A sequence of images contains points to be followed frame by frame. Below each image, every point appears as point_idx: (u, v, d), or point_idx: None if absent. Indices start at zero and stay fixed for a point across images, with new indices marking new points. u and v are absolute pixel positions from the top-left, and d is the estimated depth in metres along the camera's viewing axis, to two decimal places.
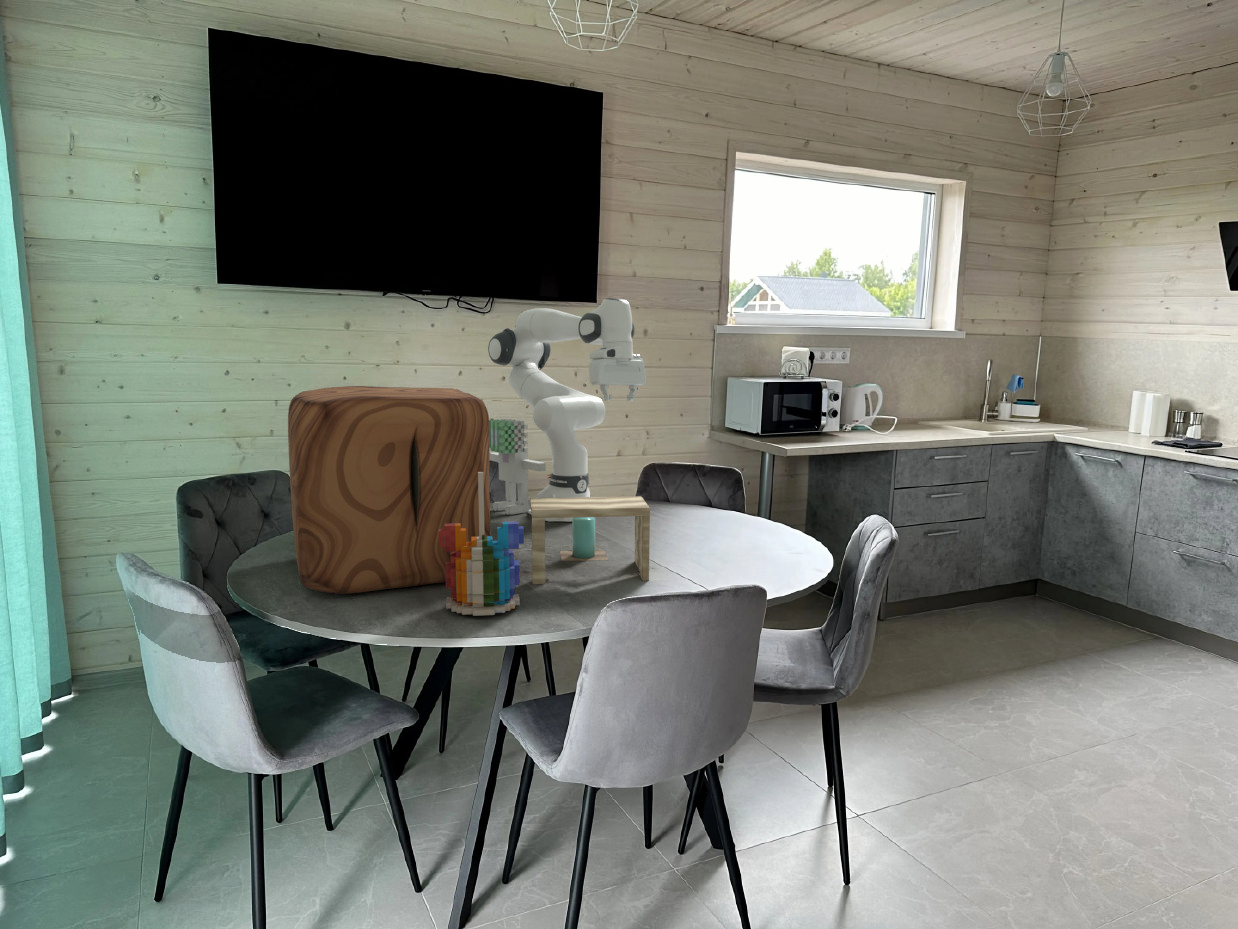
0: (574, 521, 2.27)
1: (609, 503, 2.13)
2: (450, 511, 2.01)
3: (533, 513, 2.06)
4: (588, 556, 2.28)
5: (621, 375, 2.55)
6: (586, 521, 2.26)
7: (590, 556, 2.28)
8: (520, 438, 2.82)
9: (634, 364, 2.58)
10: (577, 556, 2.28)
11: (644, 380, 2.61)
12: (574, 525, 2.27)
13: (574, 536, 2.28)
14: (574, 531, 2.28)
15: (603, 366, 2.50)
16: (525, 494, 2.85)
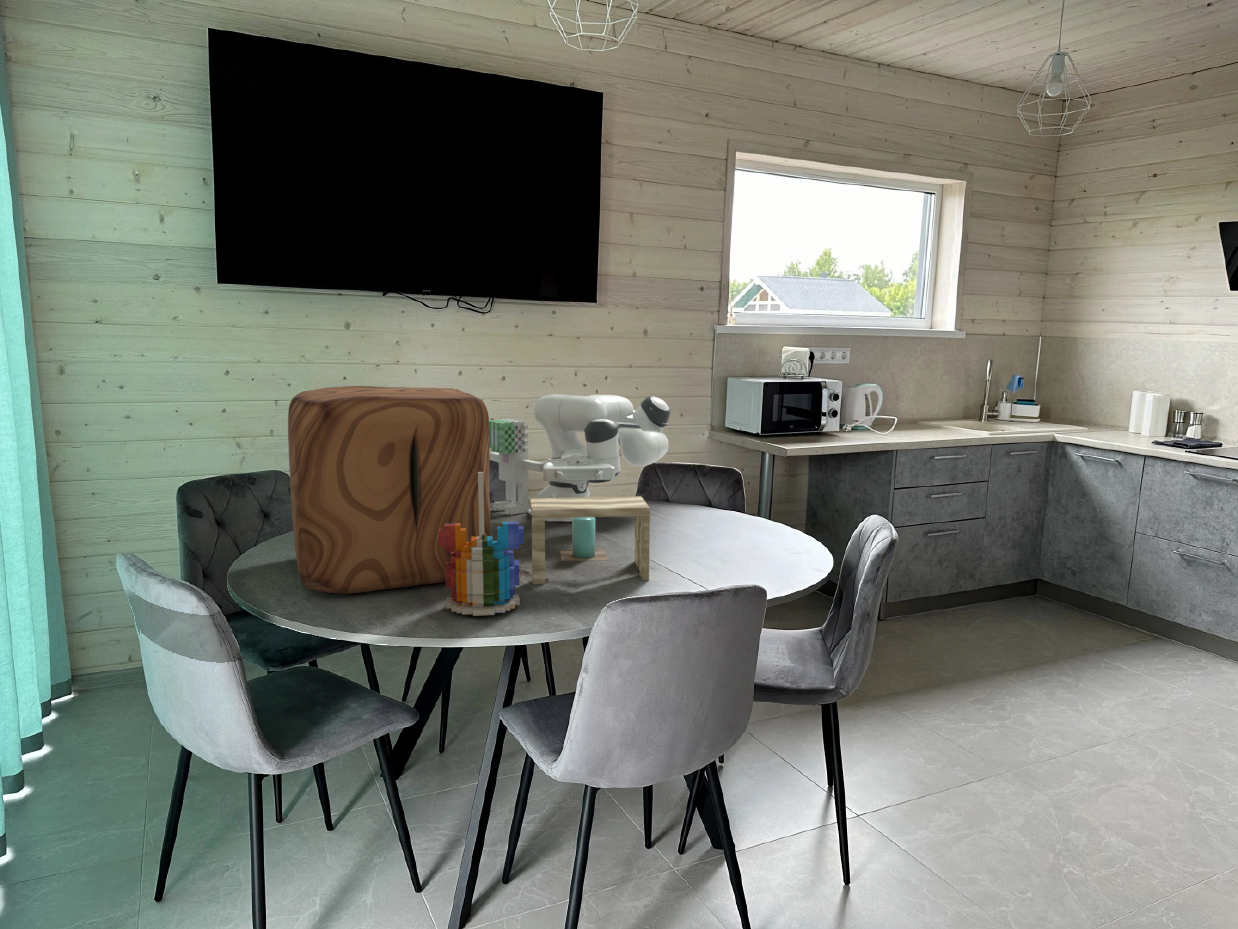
0: (574, 521, 2.27)
1: (609, 503, 2.13)
2: (451, 511, 2.01)
3: (533, 513, 2.06)
4: (588, 556, 2.28)
5: (576, 466, 2.46)
6: (586, 521, 2.26)
7: (590, 556, 2.28)
8: (520, 438, 2.82)
9: (594, 464, 2.50)
10: (577, 556, 2.28)
11: (610, 466, 2.46)
12: (574, 525, 2.27)
13: (574, 536, 2.28)
14: (574, 531, 2.28)
15: (550, 465, 2.47)
16: (525, 494, 2.85)
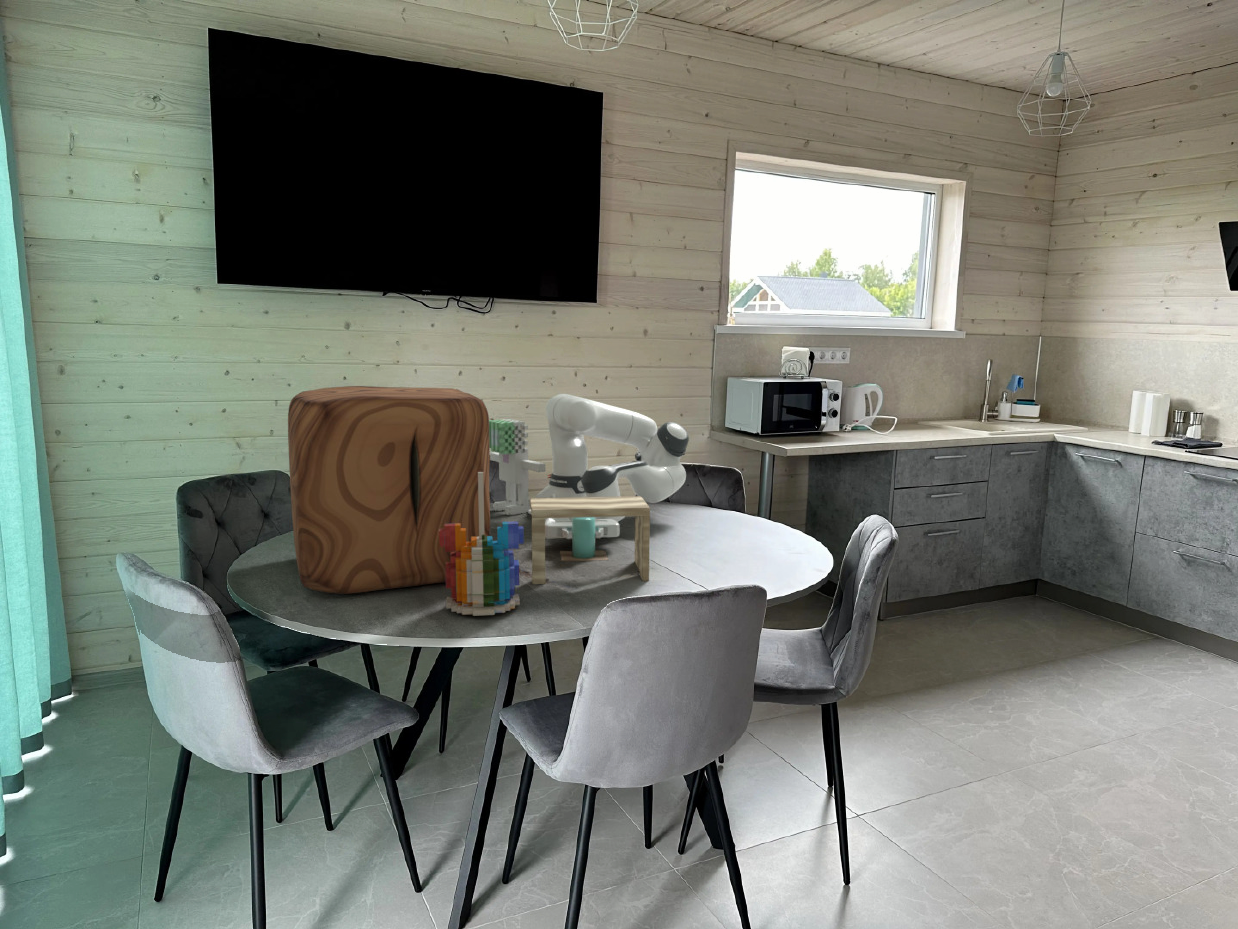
0: (574, 521, 2.27)
1: (609, 503, 2.13)
2: (450, 511, 2.01)
3: (533, 513, 2.06)
4: (588, 556, 2.28)
5: None
6: (586, 521, 2.26)
7: (590, 556, 2.28)
8: (520, 439, 2.82)
9: (598, 519, 2.39)
10: (577, 556, 2.28)
11: (615, 523, 2.35)
12: (574, 525, 2.27)
13: (574, 536, 2.28)
14: (574, 531, 2.28)
15: (552, 521, 2.37)
16: (525, 494, 2.85)
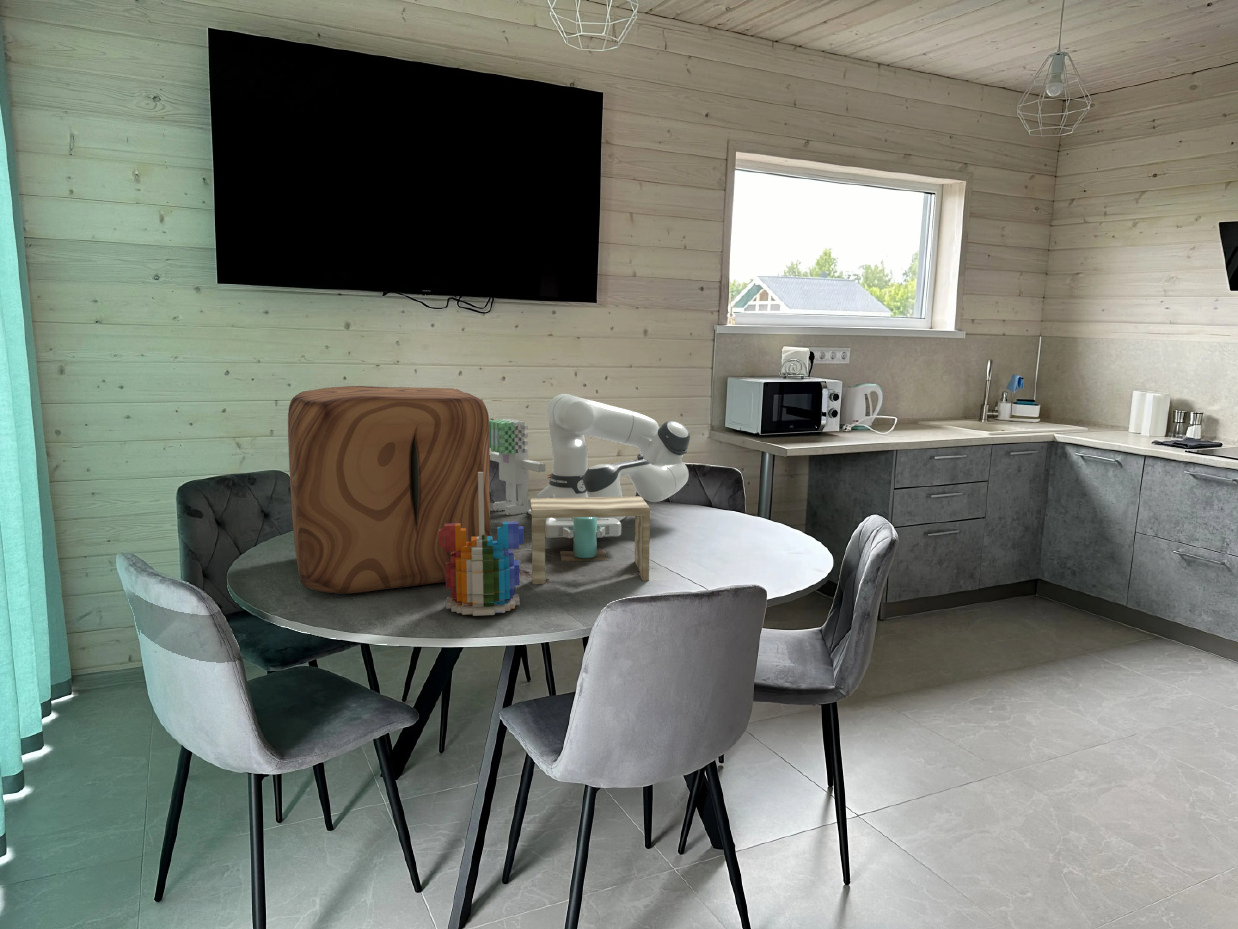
0: (575, 520, 2.25)
1: (609, 503, 2.13)
2: (450, 511, 2.01)
3: (533, 513, 2.06)
4: (590, 555, 2.25)
5: None
6: (587, 520, 2.24)
7: (592, 555, 2.26)
8: (520, 438, 2.82)
9: (599, 518, 2.37)
10: (578, 555, 2.25)
11: (616, 522, 2.33)
12: (575, 524, 2.25)
13: (575, 535, 2.25)
14: (575, 530, 2.25)
15: (553, 520, 2.34)
16: (525, 494, 2.85)
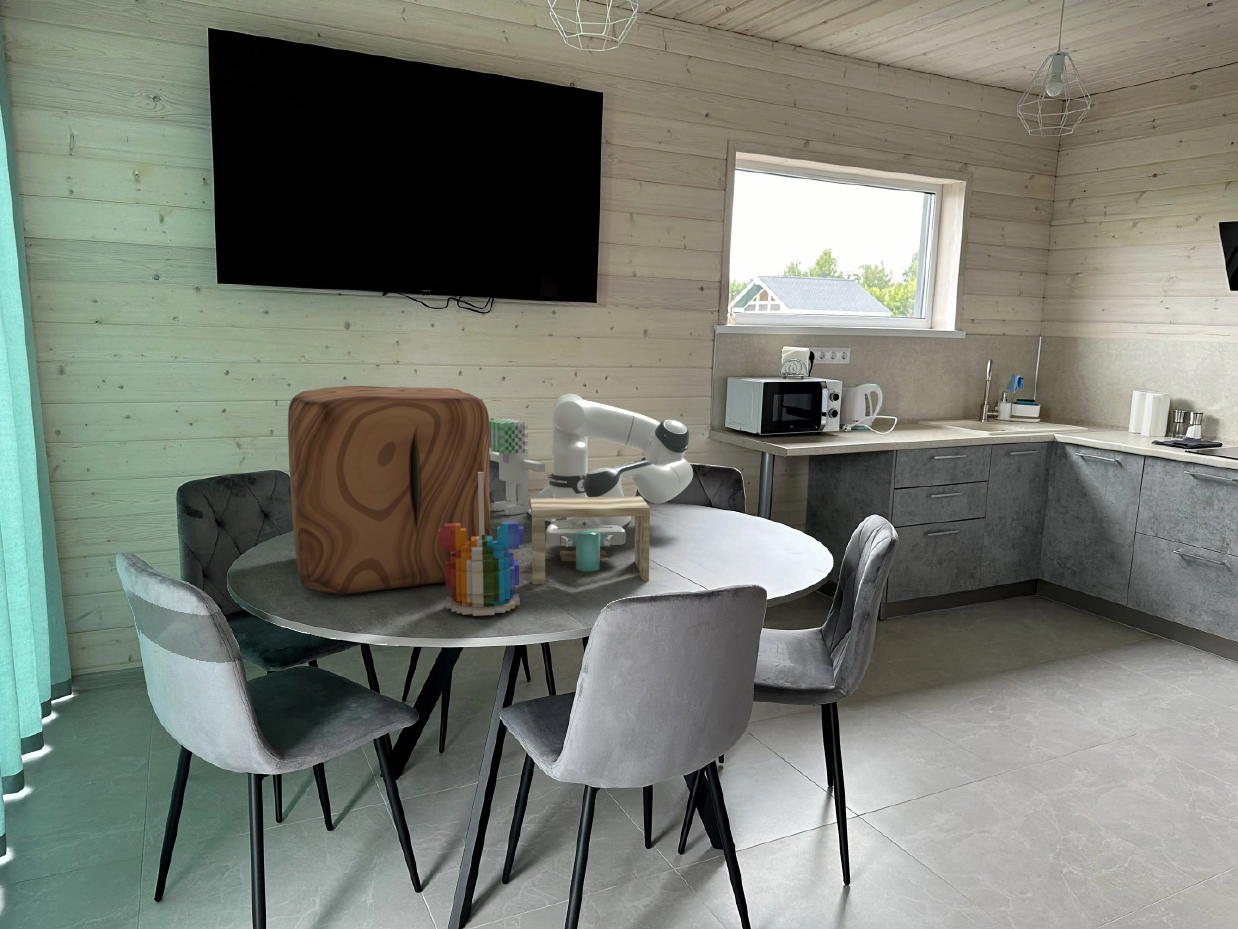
0: (578, 536, 2.16)
1: (609, 503, 2.13)
2: (450, 511, 2.01)
3: (533, 513, 2.06)
4: None
5: (583, 529, 2.24)
6: (590, 536, 2.15)
7: None
8: (520, 439, 2.82)
9: (603, 526, 2.28)
10: None
11: (621, 529, 2.24)
12: (578, 540, 2.16)
13: (578, 552, 2.16)
14: (578, 546, 2.16)
15: (554, 527, 2.25)
16: (525, 494, 2.85)
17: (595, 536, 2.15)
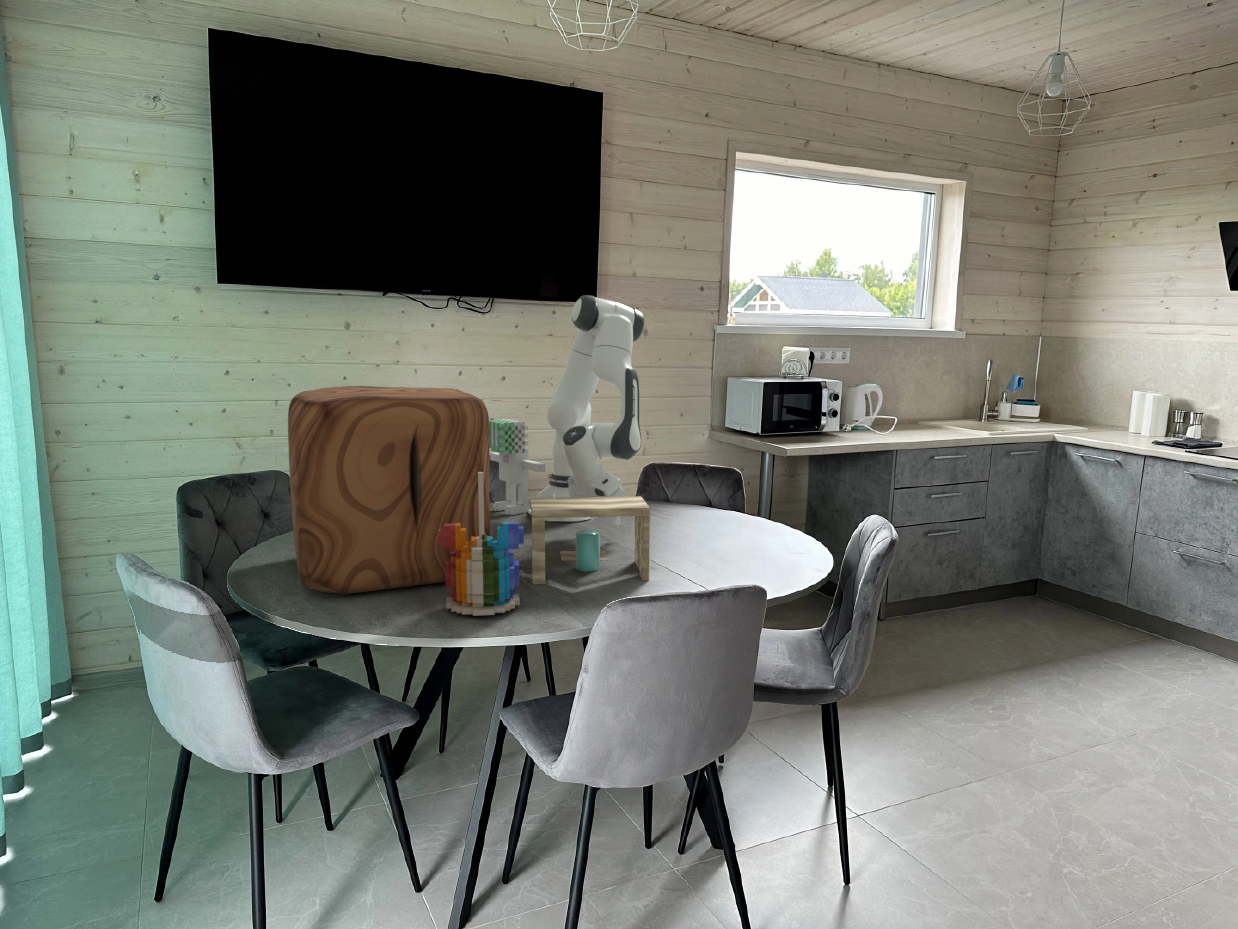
0: (578, 536, 2.16)
1: (609, 503, 2.13)
2: (450, 511, 2.01)
3: (533, 513, 2.06)
4: None
5: None
6: (590, 536, 2.15)
7: None
8: (520, 438, 2.82)
9: None
10: None
11: None
12: (578, 540, 2.16)
13: (578, 552, 2.16)
14: (578, 546, 2.16)
15: None
16: (525, 494, 2.85)
17: (595, 536, 2.15)
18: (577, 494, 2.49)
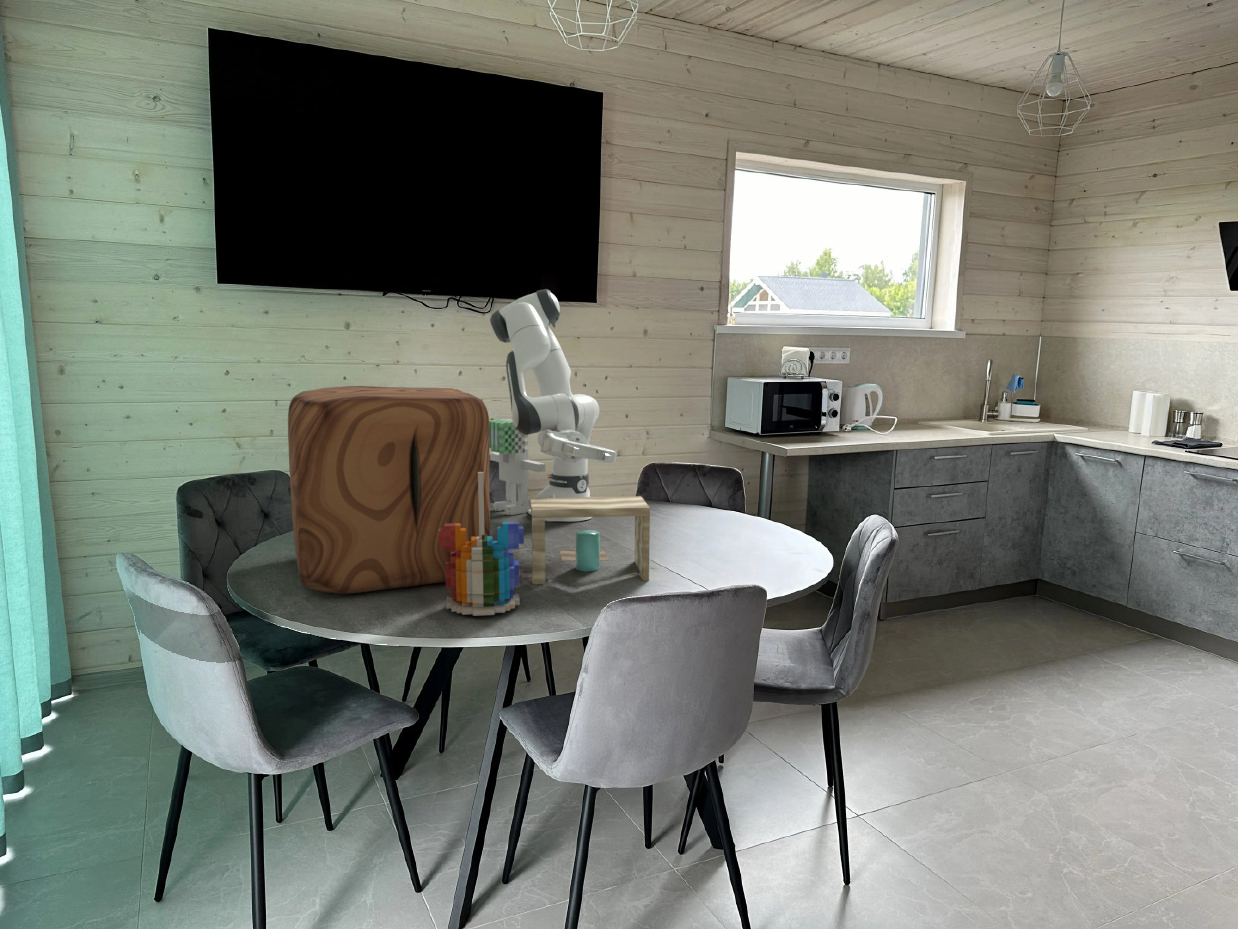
0: (578, 536, 2.16)
1: (609, 503, 2.13)
2: (450, 511, 2.01)
3: (533, 513, 2.06)
4: None
5: (580, 443, 2.35)
6: (590, 536, 2.15)
7: None
8: (520, 438, 2.82)
9: (592, 445, 2.41)
10: None
11: (612, 450, 2.39)
12: (578, 540, 2.16)
13: (578, 552, 2.16)
14: (578, 546, 2.16)
15: (553, 436, 2.34)
16: (525, 494, 2.85)
17: (595, 536, 2.15)
18: None
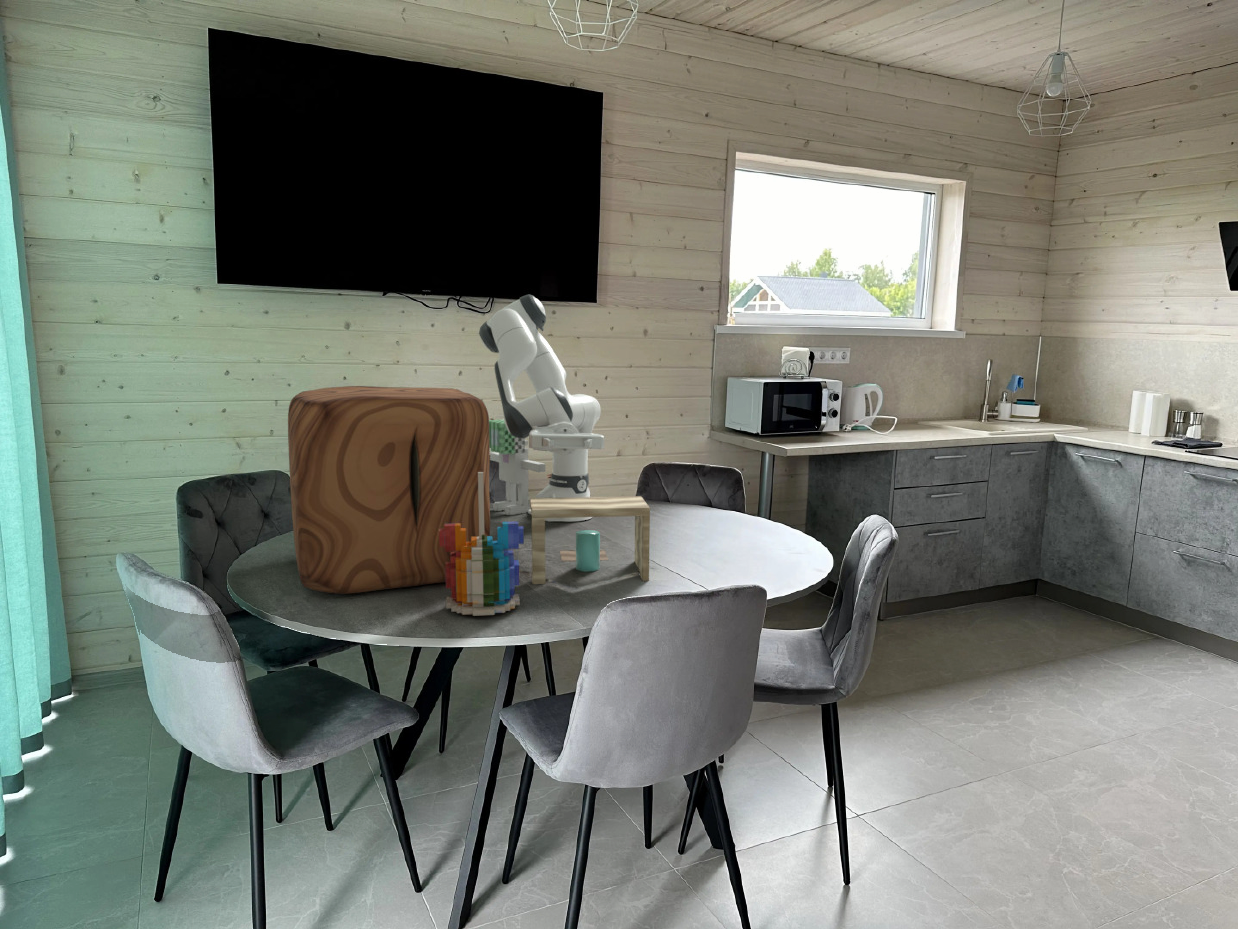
0: (578, 536, 2.16)
1: (609, 503, 2.13)
2: (450, 511, 2.01)
3: (533, 513, 2.06)
4: None
5: (564, 434, 2.34)
6: (590, 536, 2.15)
7: None
8: (520, 438, 2.82)
9: (583, 433, 2.39)
10: None
11: (600, 435, 2.35)
12: (578, 540, 2.16)
13: (578, 552, 2.16)
14: (578, 546, 2.16)
15: (537, 432, 2.35)
16: (525, 494, 2.85)
17: (595, 536, 2.15)
18: None
